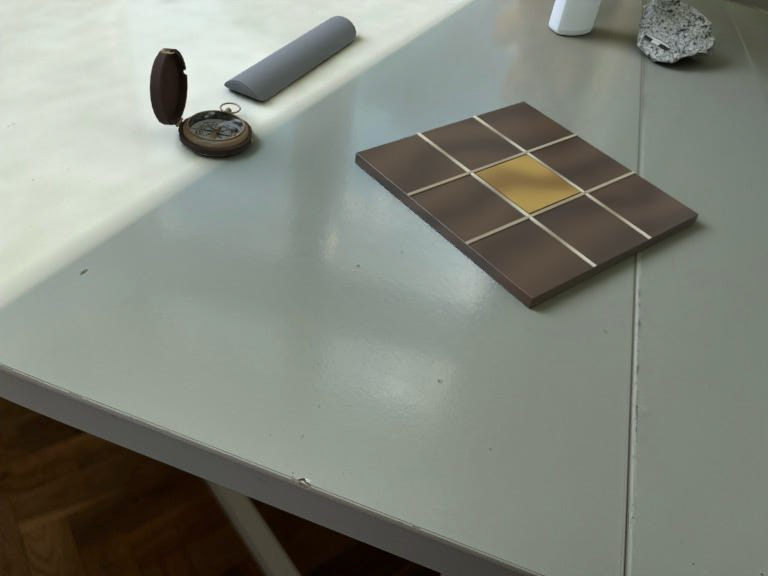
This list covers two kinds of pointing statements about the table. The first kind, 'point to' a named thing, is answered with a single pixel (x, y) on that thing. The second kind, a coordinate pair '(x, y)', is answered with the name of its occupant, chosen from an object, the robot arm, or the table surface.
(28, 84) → the table surface
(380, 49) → the table surface
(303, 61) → the gray half cylinder
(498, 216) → the grid board
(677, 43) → the rock sample
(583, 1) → the eye dropper bottle
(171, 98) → the compass
